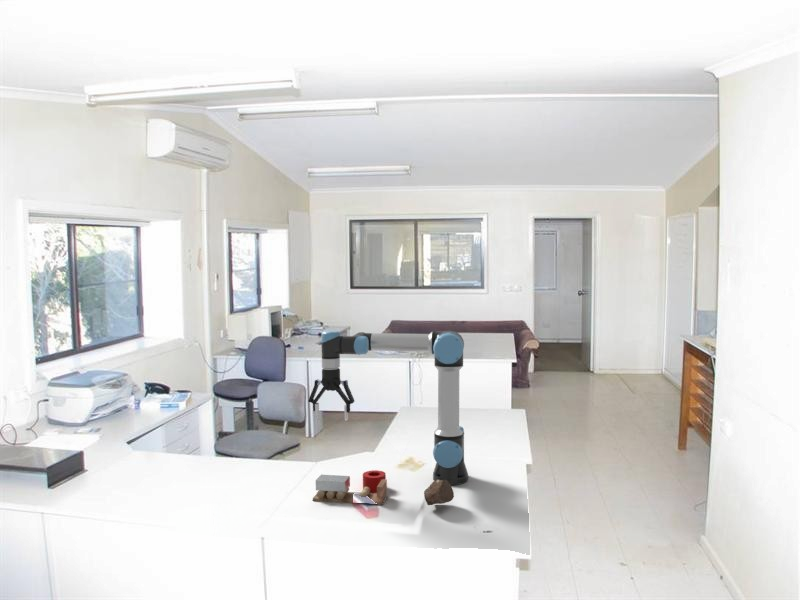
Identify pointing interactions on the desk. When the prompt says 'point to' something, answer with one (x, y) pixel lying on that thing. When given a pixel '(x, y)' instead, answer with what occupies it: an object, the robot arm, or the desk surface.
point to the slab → (332, 483)
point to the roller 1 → (321, 494)
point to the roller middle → (331, 494)
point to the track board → (348, 498)
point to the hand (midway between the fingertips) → (331, 419)
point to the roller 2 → (341, 494)
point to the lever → (373, 479)
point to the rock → (438, 492)
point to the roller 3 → (365, 492)
